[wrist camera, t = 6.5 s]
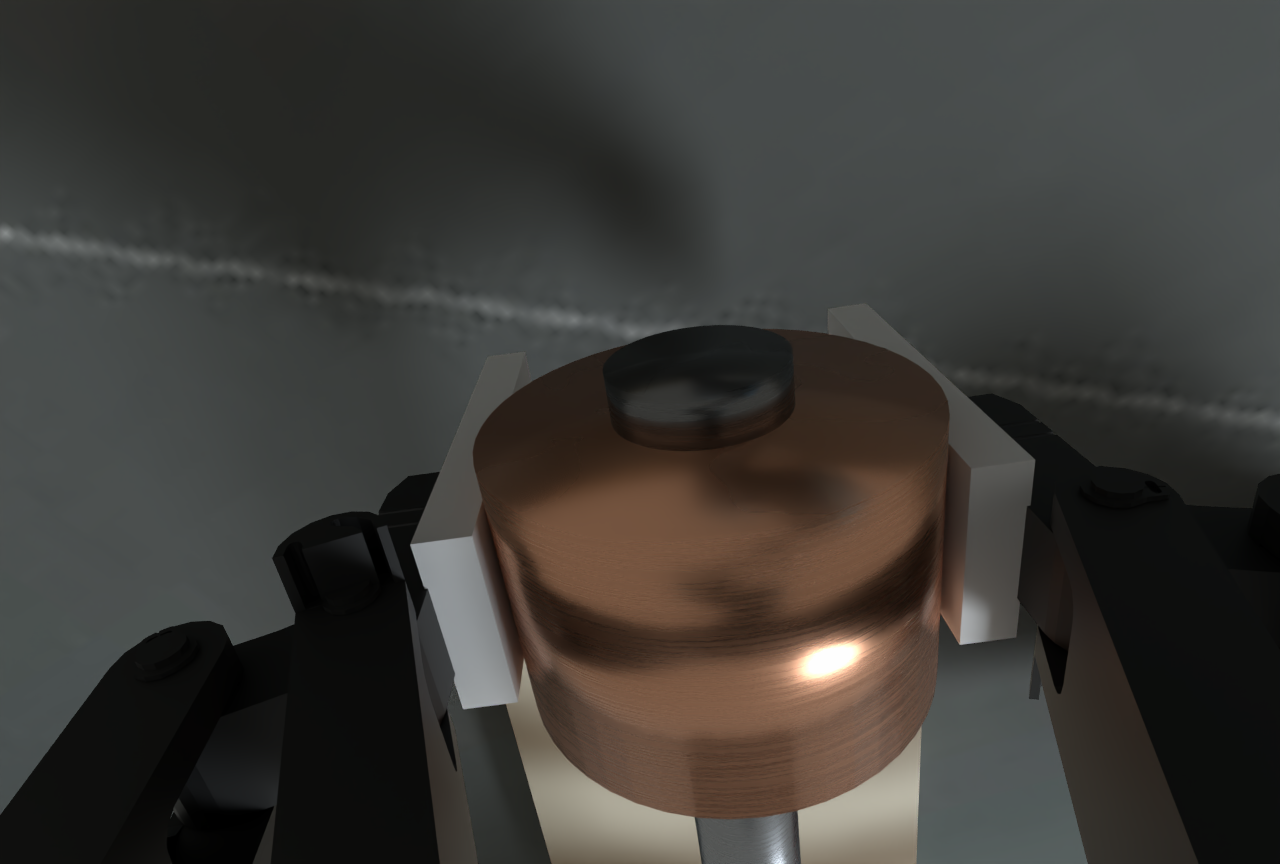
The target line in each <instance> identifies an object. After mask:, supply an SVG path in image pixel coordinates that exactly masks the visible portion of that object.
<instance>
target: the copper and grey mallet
mask: <svg viewBox="0 0 1280 864" xmlns="http://www.w3.org/2000/svg"><path fill="white" fill-rule="evenodd" d="M949 421H950V412H949V405H948V400H947V398H946V396H945V394H944V391H943V389H942V387H941V386H940V385H939V384H938V383H937V381H936V380H935V379H934V378H933V377H932V375H930V374H929V373H928V372H927V371H925V370H924V369H923V368H921V367H920V366H919V365H917V364H916V363H914V362H912V361H911V360H909V359H907V358H905V357H904V356H902V355H899V354H897V353H895V352H892V351H890V350H888V349H885V348H883V347H879V346H876V345H873V344H870V343H867V342H864V341H859V340H855V339H851V338H847V337H842V336H836V335H831V334H825V333H817V332H809V331H800V330H783V329H759V328H754V327H747V326H734V325H712V326H698V327H690V328H683V329H677V330H672V331H667V332H663V333H659V334H655V335H652V336H649V337H645V338H643V339H640V340H637V341H635V342H633V343H630V344H628V345H625V346H621V347H617V348H613V349H610V350H607V351H603V352H600V353H597V354H594V355H591V356H588V357H585V358H582V359H580V360H577V361H574V362H572V363H569V364H567V365H565V366H562V367H560V368H558V369H555V370H553V371H551V372H549V373H547V374H545V375H543V376H541V377H539V378H538V379H536V380H534V381H532V382H531V383H529V384H527V385H526V386H524V387H523V388H521V389H519V390H518V391H516V392H515V393H514V394H512V395H511V396H510V397H509V398H507V399H506V400H505V401H503V402H502V403H501V404H500V405H499V406H498V407H497V408H496V409H495V410H494V411H493V412H492V413H491V414H490V415H489V417H488V418H487V419H486V421H485V422H484V423H483V425H482V426H481V428H480V430H479V432H478V434H477V436H476V438H475V443H474V447H473V452H472V453H473V465H474V469H475V473H476V477H477V481H478V484H479V488H480V492H481V496H482V500H483V503H484V507H485V511H486V515H487V519H488V522H489V526H490V530H491V534H492V538H493V541H494V545H495V549H496V553H497V557H498V560H499V564H500V568H501V572H502V576H503V579H504V583H505V587H506V591H507V595H508V598H509V602H510V606H511V610H512V614H513V617H514V621H515V625H516V629H517V633H518V637H519V640H520V644H521V648H522V652H523V656H524V659H525V663H526V667H527V671H528V675H529V678H530V682H531V686H532V690H533V694H534V697H535V701H536V705H537V708H538V711H539V714H540V717H541V719H542V722H543V725H544V727H545V728H546V730H547V732H548V734H549V735H550V737H551V739H552V741H553V742H554V744H555V745H556V746H557V747H558V749H559V750H560V751H561V752H562V753H563V755H564V756H565V757H566V758H567V759H568V761H569V762H571V763H572V764H573V765H574V766H575V767H576V768H577V769H579V770H580V771H581V772H582V773H583V774H584V775H586V776H587V777H588V778H590V779H591V780H593V781H594V782H596V783H597V784H599V785H601V786H602V787H604V788H605V789H607V790H608V791H610V792H612V793H615V794H617V795H619V796H621V797H623V798H626V799H628V800H630V801H632V802H634V803H637V804H640V805H643V806H647V807H650V808H653V809H656V810H660V811H663V812H667V813H673V814H678V815H684V816H690V817H695V823H696V830H697V836H698V843H699V849H700V856H701V862H702V864H801V855H800V840H799V824H798V810H801V809H805V808H808V807H811V806H814V805H817V804H820V803H823V802H827V801H829V800H831V799H833V798H835V797H837V796H840V795H842V794H844V793H846V792H848V791H850V790H853V789H855V788H856V787H858V786H859V785H861V784H862V783H864V782H866V781H867V780H869V779H870V778H872V777H873V776H875V775H877V774H878V773H880V772H881V771H882V770H883V769H884V768H885V767H886V766H888V765H889V764H890V763H891V762H892V761H893V760H894V759H896V758H897V757H898V756H899V755H900V754H901V753H902V751H903V750H904V749H905V748H906V747H907V745H908V744H909V743H910V742H911V741H912V739H913V738H914V737H915V736H916V734H917V732H918V731H919V729H920V727H921V725H922V724H923V722H924V720H925V718H926V716H927V715H928V712H929V709H930V706H931V703H932V700H933V697H934V693H935V686H936V678H937V665H938V644H939V624H940V604H941V583H942V563H943V543H944V522H945V502H946V482H947V461H948V441H949Z"/></svg>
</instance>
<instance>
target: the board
mask: <svg viewBox="0 0 1280 864" xmlns="http://www.w3.org/2000/svg"><path fill="white" fill-rule="evenodd" d="M506 706H507V710H508V713H509V717H510V720H511V724H512V727H513V731H514V734H515V738H516V741H517V745H518V748H519V752H520V755H521V759H522V762H523V766H524V769H525V773H526V776H527V779H528V783H529V786H530V790H531V793H532V797H533V800H534V804H535V807H536V811H537V814H538V818H539V821H540V825H541V828H542V832H543V835H544V839H545V842H546V846H547V849H548V853H549V856H550V860H551V863H552V864H702V862H701V856H700V849H699V843H698V836H697V830H696V823H695V817H690V816H684V815H678V814H673V813H667V812H663V811H660V810H656V809H653V808H650V807H647V806H643V805H640V804H637V803H634V802H632V801H630V800H628V799H626V798H623V797H621V796H619V795H617V794H615V793H612V792H610V791H608V790H607V789H605V788H604V787H602V786H601V785H599V784H597V783H596V782H594V781H593V780H591V779H590V778H588V777H587V776H586V775H584V774H583V773H582V772H581V771H580V770H579V769H577V768H576V767H575V766H574V765H573V764H572V763H571V762H569V761H568V759H567V758H566V757H565V756H564V755H563V753H562V752H561V751H560V750H559V749H558V747H557V746H556V745H555V744H554V742H553V741H552V739H551V737H550V735H549V734H548V732H547V730H546V728H545V727H544V725H543V722H542V719H541V717H540V714H539V711H538V708H537V705H536V701H535V697H534V694H533V690H532V686H531V682H530V678H529V675H528V671H527V667H526V663H525V659H524V663H523V670H522V677H521V684H520V691H519V699H518V702H516V703H508V704H506ZM920 751H921V727H920V729H919V731H918V732H917V734H916V736H915V737H914V738H913V739H912V741H911V742H910V743H909V744H908V745H907V747H906V748H905V749H904V750H903V751H902V753H901V754H900V755H899V756H898V757H897V758H896V759H894V760H893V761H892V762H891V763H890V764H889V765H888V766H886V767H885V768H884V769H883V770H882V771H881V772H880V773H878V774H877V775H875V776H873V777H872V778H870V779H869V780H867V781H866V782H864V783H862V784H861V785H859V786H858V787H856V788H855V789H853V790H850V791H848V792H846V793H844V794H842V795H840V796H837V797H835V798H833V799H831V800H829V801H827V802H823V803H820V804H817V805H814V806H811V807H808V808H805V809H801V810H798V824H799V840H800V855H801V864H916V854H917V828H918V802H919V776H920Z"/></svg>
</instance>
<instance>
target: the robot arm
mask: <svg viewBox="0 0 1280 864" xmlns="http://www.w3.org/2000/svg"><path fill="white" fill-rule="evenodd" d="M828 334H831V335H836V336H842V337H847V338H851V339H855V340H859V341H864V342H867V343H870V344H873V345H876V346H879V347H883V348H885V349H888V350H890V351H892V352H895V353H897V354H899V355H902V356H904V357H905V358H907V359H909V360H911V361H912V362H914V363H916V364H917V365H919V366H920V367H921V368H923V369H924V370H925V371H927V372H928V373H929V374H930V375H932V377H933V378H934V379H935V380H936V381H937V383H938V384H939V385H940V386H941V387H942V389H943V391H944V394H945V396H946V398H947V400H948V405H949V412H950V421H949V441H948V461H947V482H946V502H945V522H944V543H943V563H942V583H941V604H940V613H941V615H942V616H943V618H944V620H945V621H946V623H947V625H948V626H949V628H950V630H951V631H952V633H953V635H954V636H955V638H956V640H957V641H958V643H959V644H960V645H963V644H970V643H978V642H986V641H994V640H1001V639H1009V638H1016V635H1017V626H1018V617H1019V608H1020V602H1021V603H1022V605H1023V606H1024V607H1025V609H1026V610H1027V611H1028V613H1029V614H1030V615H1031V617H1032V618H1033V619H1034V620H1035V622H1036V623H1037V624H1038V625H1037V633H1036V641H1035V649H1034V657H1033V666H1032V674H1031V682H1030V694H1029V699H1038V700H1039V693H1040V687H1041V686H1043V690H1044V694H1045V698H1046V701H1047V705H1048V709H1049V713H1050V717H1051V721H1052V725H1053V729H1054V733H1055V737H1056V741H1057V745H1058V748H1059V752H1060V756H1061V760H1062V764H1063V768H1064V772H1065V776H1066V780H1067V784H1068V788H1069V791H1070V795H1071V799H1072V803H1073V807H1074V811H1075V815H1076V819H1077V823H1078V827H1079V831H1080V835H1081V838H1082V842H1083V846H1084V850H1085V854H1086V858H1087V862H1088V864H1280V474H1277V475H1272V476H1269V477H1267V478H1266V479H1265V480H1263V481H1262V482H1261V483H1259V484H1258V488H1257V492H1256V496H1255V500H1254V504H1253V508H1252V509H1251V508H1229V507H1207V506H1191V505H1185V503H1184V501H1183V500H1182V498H1181V497H1180V495H1179V494H1178V493H1177V492H1176V491H1175V490H1173V489H1172V488H1171V487H1170V486H1169V485H1168V484H1167V483H1165V482H1163V481H1161V480H1159V479H1156V478H1154V477H1152V476H1150V475H1148V474H1144V473H1140V472H1136V471H1133V470H1129V469H1125V468H1114V467H1103V466H1099V467H1095V466H1094V465H1093V464H1092V463H1090V462H1089V461H1088V460H1087V459H1085V458H1084V457H1083V456H1082V455H1081V454H1079V453H1078V452H1077V451H1076V450H1075V449H1073V448H1072V447H1071V446H1070V445H1069V444H1067V443H1066V442H1065V441H1064V440H1062V439H1061V438H1060V437H1059V436H1058V435H1053V431H1052V430H1050V429H1049V428H1048V427H1047V426H1045V425H1044V424H1043V423H1042V422H1041V423H1039V422H1038V419H1037V418H1036V417H1035V416H1033V415H1032V414H1031V413H1030V412H1029V411H1027V410H1026V409H1025V408H1024V407H1022V406H1021V405H1020V404H1017V403H1015V402H1012V401H1009V400H1007V399H1004V398H1002V397H999V396H997V395H994V394H986V395H979V396H972V397H967V396H966V395H965V394H964V393H963V392H961V391H960V390H959V389H958V388H957V387H956V386H955V385H954V384H953V383H952V382H951V381H950V380H948V379H947V378H946V377H945V376H944V375H943V374H942V373H941V372H940V371H939V370H938V369H937V368H935V367H934V366H933V365H932V364H931V363H930V362H929V361H928V360H927V359H926V358H925V357H924V356H923V355H921V354H920V353H919V352H918V351H917V350H916V349H915V348H914V347H913V346H912V345H911V344H910V343H908V342H907V341H906V340H905V339H904V338H903V337H902V336H901V335H900V334H899V333H898V332H897V331H896V330H894V329H893V328H892V327H891V326H890V325H889V324H888V323H887V322H886V321H885V320H884V319H883V318H881V317H880V316H879V315H878V314H877V313H876V312H875V311H874V310H873V309H872V308H871V307H870V306H868V305H867V304H866V303H864V304H857V305H850V306H843V307H836V308H829V309H828ZM531 382H532V381H531V376H530V372H529V367H528V362H527V357H526V353H525V351H524V352H517V353H510V354H503V355H496V356H488V357H487V359H486V362H485V364H484V367H483V369H482V371H481V374H480V376H479V379H478V381H477V384H476V386H475V388H474V391H473V393H472V396H471V398H470V401H469V403H468V405H467V408H466V410H465V413H464V415H463V418H462V420H461V422H460V425H459V427H458V430H457V432H456V434H455V437H454V439H453V442H452V444H451V447H450V449H449V451H448V454H447V456H446V459H445V461H444V464H443V466H442V468H441V471H440V472H436V473H429V474H421V475H414V476H408V477H407V478H406V479H405V480H403V481H402V482H401V483H400V484H399V485H398V486H396V487H395V488H394V489H393V490H392V491H391V492H389V493H388V495H387V497H386V499H385V501H384V503H383V504H382V506H381V508H380V510H379V515H376V514H373V513H371V512H347V513H342V514H337V515H331V516H329V517H326V518H323V519H321V520H318V521H315V522H312V523H310V524H308V525H307V526H305V527H303V528H301V529H300V530H298V531H296V532H294V533H293V534H291V535H290V536H289V537H288V538H287V539H286V540H285V541H283V542H282V543H281V544H280V545H279V546H278V548H277V550H276V552H275V554H274V556H273V558H272V559H273V561H274V564H275V566H276V568H277V571H278V573H279V575H280V578H281V580H282V583H283V585H284V587H285V590H286V592H287V594H288V597H289V599H290V601H291V604H292V606H293V609H294V611H295V613H296V614H295V624H294V625H292V626H289V627H287V628H284V629H282V630H279V631H276V632H273V633H270V634H267V635H264V636H261V637H259V638H256V639H253V640H250V641H247V642H244V643H241V644H238V645H235V646H233V645H232V643H231V641H230V639H229V637H228V635H227V633H226V631H225V629H224V627H223V625H220V624H217V623H214V622H211V621H198V622H189V623H185V624H181V625H178V626H172V627H169V628H166V629H163V630H161V631H159V633H154V634H152V635H150V636H148V637H147V638H145V639H143V640H142V642H140V643H139V644H137V645H136V646H134V647H133V648H131V649H130V650H128V651H127V652H125V653H124V654H123V655H122V656H121V657H120V658H119V659H118V660H117V661H116V662H115V663H114V664H113V665H112V666H111V668H110V669H109V670H108V671H107V672H106V674H105V675H104V677H103V678H102V679H101V681H100V682H99V683H98V685H97V686H96V687H95V689H94V690H93V691H92V693H91V694H90V695H89V697H88V698H87V699H86V701H85V702H84V703H83V705H82V706H81V707H80V709H79V710H78V711H77V713H76V714H75V715H74V717H73V718H72V719H71V721H70V722H69V724H68V725H67V726H66V728H65V729H64V730H63V732H62V733H61V734H60V736H59V737H58V738H57V740H56V741H55V742H54V744H53V745H52V746H51V748H50V749H49V750H48V752H47V753H46V754H45V756H44V757H43V758H42V760H41V761H40V762H39V764H38V765H37V766H36V768H35V769H34V771H33V772H32V773H31V775H30V776H29V777H28V779H27V780H26V781H25V783H24V784H23V785H22V787H21V788H20V789H19V791H18V792H17V793H16V795H15V796H14V797H13V799H12V800H11V801H10V803H9V804H8V805H7V807H6V808H5V809H4V811H3V812H2V813H1V815H0V864H478V859H477V853H476V847H475V842H474V836H473V830H472V824H471V819H470V813H469V807H468V801H467V796H466V790H465V784H464V778H463V773H462V767H461V761H460V755H459V749H458V744H457V738H456V732H455V728H454V725H453V722H452V719H451V716H450V713H449V710H448V707H447V705H448V701H449V697H450V693H451V689H452V685H453V681H454V682H455V685H456V688H457V692H458V695H459V698H460V701H461V704H462V707H463V709H470V708H478V707H485V706H493V705H501V704H508V703H516V702H518V699H519V691H520V684H521V677H522V670H523V663H524V656H523V652H522V648H521V644H520V640H519V637H518V633H517V629H516V625H515V621H514V617H513V614H512V610H511V606H510V602H509V598H508V595H507V591H506V587H505V583H504V579H503V576H502V572H501V568H500V564H499V560H498V557H497V553H496V549H495V545H494V541H493V538H492V534H491V530H490V526H489V522H488V519H487V515H486V511H485V507H484V503H483V500H482V496H481V492H480V488H479V484H478V481H477V477H476V473H475V469H474V465H473V453H472V452H473V447H474V443H475V438H476V436H477V434H478V432H479V430H480V428H481V426H482V425H483V423H484V422H485V421H486V419H487V418H488V417H489V415H490V414H491V413H492V412H493V411H494V410H495V409H496V408H497V407H498V406H499V405H500V404H501V403H502V402H503V401H505V400H506V399H507V398H509V397H510V396H511V395H512V394H514V393H515V392H516V391H518V390H519V389H521V388H523V387H524V386H526V385H527V384H529V383H531ZM172 811H174V813H173V815H172V817H171V814H172ZM170 817H171V819H170Z"/></svg>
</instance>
